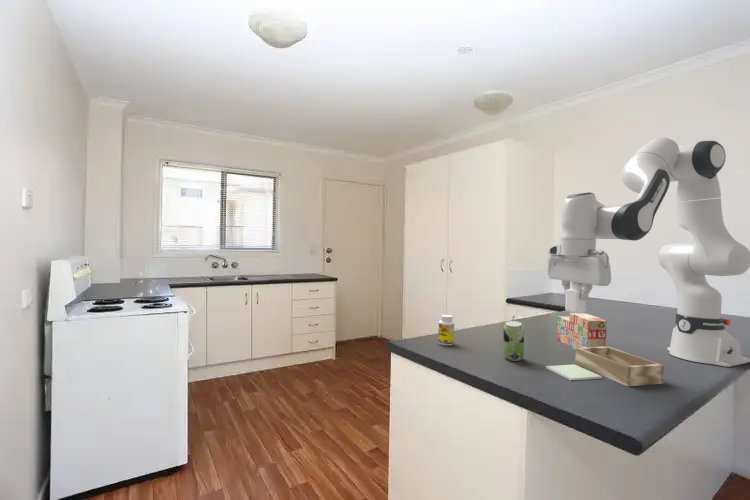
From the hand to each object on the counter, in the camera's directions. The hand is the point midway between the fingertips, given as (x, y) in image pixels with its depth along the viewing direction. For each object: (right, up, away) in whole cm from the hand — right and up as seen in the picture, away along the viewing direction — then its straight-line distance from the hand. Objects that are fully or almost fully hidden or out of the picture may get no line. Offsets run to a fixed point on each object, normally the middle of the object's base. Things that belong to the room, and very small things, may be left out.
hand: (576, 298), depth 106 cm
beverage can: (-14, -21, +12) cm, 28 cm away
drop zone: (-1, -22, 0) cm, 22 cm away
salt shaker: (0, -4, 0) cm, 4 cm away
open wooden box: (+13, -22, +1) cm, 25 cm away
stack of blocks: (+16, -22, +28) cm, 39 cm away
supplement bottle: (-32, -20, +28) cm, 47 cm away
